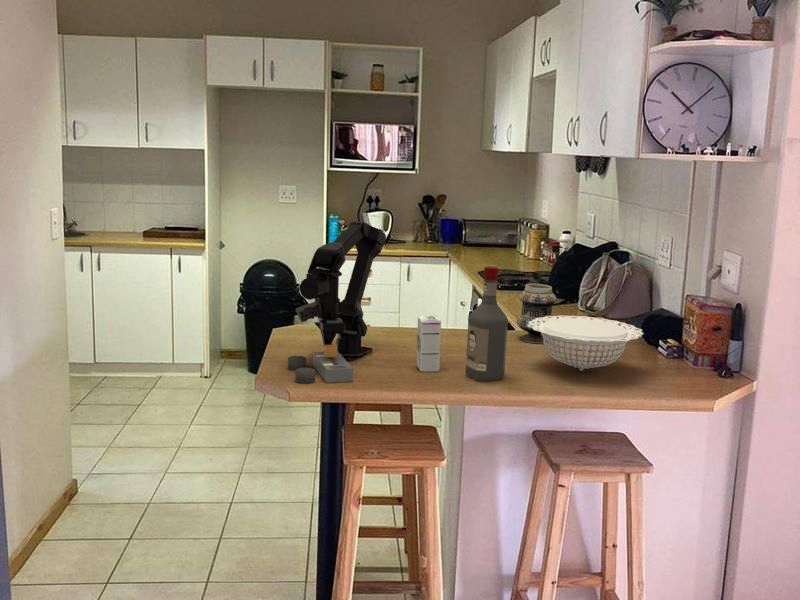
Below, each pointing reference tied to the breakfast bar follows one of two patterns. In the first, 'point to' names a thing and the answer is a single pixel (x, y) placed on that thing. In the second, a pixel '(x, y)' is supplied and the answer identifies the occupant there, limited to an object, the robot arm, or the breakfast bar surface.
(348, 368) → the grey flat block
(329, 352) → the orange upright box
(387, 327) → the breakfast bar surface
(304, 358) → the coil
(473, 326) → the liquor
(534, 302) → the apothecary jar
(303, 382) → the coil
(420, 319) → the syrup box
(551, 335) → the colander
